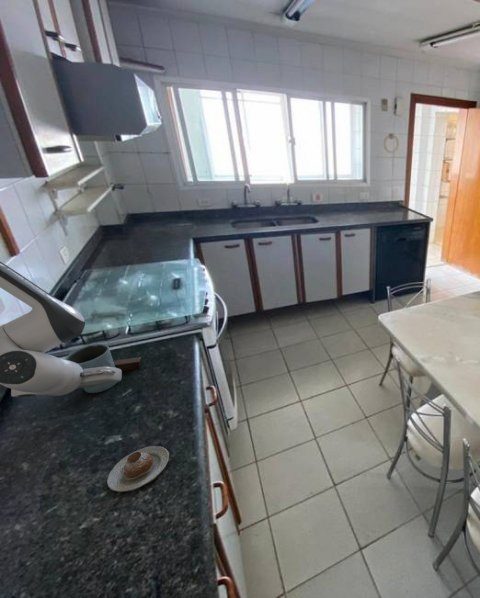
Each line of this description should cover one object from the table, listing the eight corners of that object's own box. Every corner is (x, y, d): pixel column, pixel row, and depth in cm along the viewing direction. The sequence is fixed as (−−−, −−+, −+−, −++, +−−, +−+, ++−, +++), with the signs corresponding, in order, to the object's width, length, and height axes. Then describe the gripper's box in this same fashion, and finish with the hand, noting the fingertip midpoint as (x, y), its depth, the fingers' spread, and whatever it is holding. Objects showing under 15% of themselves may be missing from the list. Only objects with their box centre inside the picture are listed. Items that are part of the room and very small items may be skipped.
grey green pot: (124, 370, 110) (111, 340, 105) (119, 388, 103) (105, 357, 97) (84, 380, 106) (69, 349, 100) (77, 399, 98) (59, 367, 93)
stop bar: (80, 377, 107) (77, 369, 105) (84, 371, 109) (81, 364, 108) (140, 369, 112) (138, 361, 111) (143, 364, 115) (140, 356, 114)
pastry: (173, 443, 86) (168, 430, 84) (165, 482, 76) (159, 469, 74) (117, 458, 82) (110, 445, 79) (101, 502, 72) (93, 489, 70)
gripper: (110, 358, 88) (131, 367, 100) (5, 372, 80) (42, 379, 92) (108, 382, 86) (130, 388, 98) (2, 398, 78) (40, 402, 91)
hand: (87, 384), depth 95 cm, fingers closed
